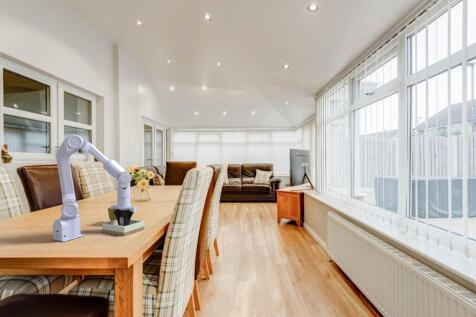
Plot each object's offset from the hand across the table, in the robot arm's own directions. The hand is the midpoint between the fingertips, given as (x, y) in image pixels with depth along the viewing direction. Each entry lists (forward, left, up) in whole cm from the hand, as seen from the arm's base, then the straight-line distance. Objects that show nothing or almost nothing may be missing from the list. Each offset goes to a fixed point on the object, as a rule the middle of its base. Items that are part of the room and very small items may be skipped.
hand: (123, 225), depth 123 cm
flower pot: (+9, +12, -3) cm, 16 cm away
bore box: (0, 0, -2) cm, 2 cm away
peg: (0, 0, -2) cm, 2 cm away
